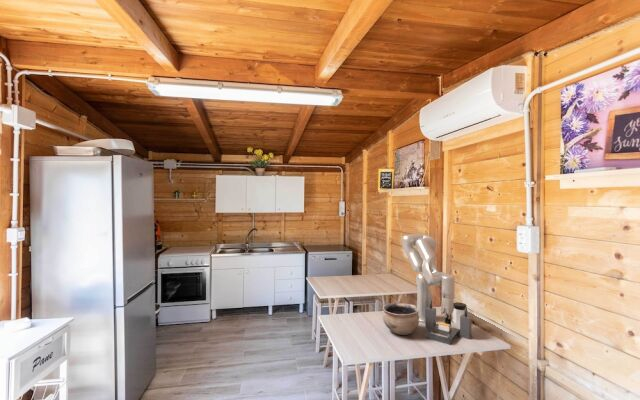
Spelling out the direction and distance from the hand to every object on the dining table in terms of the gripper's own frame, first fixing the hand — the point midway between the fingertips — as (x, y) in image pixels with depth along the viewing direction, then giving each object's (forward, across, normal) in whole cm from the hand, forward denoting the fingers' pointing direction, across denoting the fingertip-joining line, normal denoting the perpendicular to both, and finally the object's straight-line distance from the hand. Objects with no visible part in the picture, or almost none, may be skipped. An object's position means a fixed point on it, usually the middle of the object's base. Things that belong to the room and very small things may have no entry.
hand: (447, 325), depth 196 cm
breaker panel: (+4, +8, 0) cm, 9 cm away
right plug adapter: (+4, 0, +10) cm, 11 cm away
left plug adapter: (+4, 0, -11) cm, 11 cm away
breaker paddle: (+1, +6, 0) cm, 6 cm away
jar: (+4, -21, +1) cm, 21 cm away
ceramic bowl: (+4, +19, -22) cm, 30 cm away
